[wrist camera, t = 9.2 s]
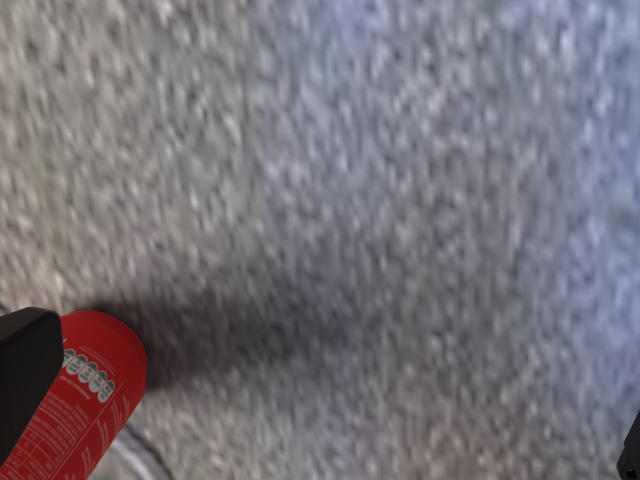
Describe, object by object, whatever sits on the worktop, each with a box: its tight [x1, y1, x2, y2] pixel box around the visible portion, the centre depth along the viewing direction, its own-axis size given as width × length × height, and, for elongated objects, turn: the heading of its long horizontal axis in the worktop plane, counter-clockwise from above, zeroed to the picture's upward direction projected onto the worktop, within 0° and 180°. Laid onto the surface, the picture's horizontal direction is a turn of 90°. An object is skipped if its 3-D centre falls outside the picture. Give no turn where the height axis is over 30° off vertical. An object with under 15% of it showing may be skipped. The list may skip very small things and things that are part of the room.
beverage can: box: [0, 310, 148, 480], centre depth 20 cm, size 5×5×12 cm
